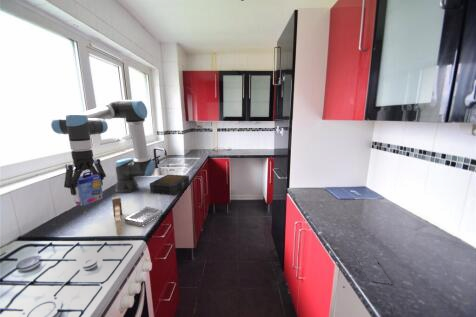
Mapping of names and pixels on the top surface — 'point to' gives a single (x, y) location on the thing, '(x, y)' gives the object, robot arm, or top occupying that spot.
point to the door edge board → (117, 213)
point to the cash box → (169, 184)
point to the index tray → (143, 216)
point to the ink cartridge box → (89, 188)
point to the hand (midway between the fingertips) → (89, 196)
